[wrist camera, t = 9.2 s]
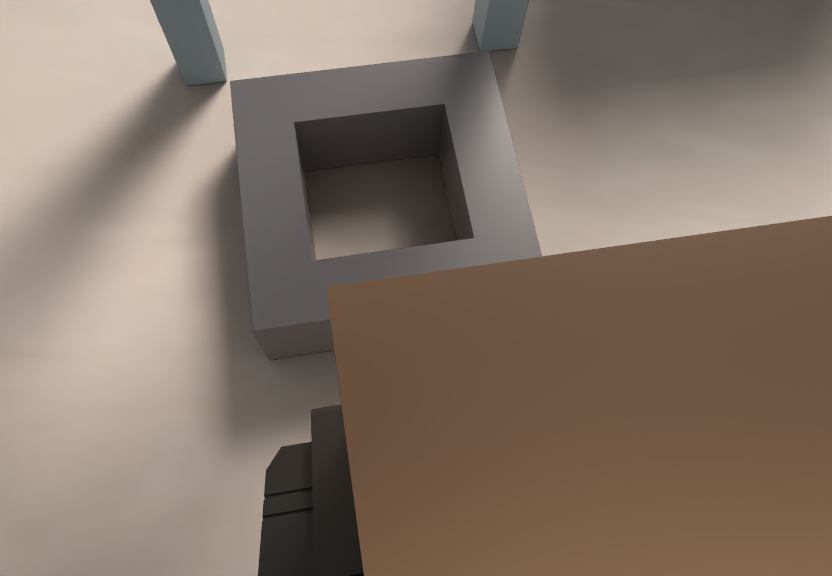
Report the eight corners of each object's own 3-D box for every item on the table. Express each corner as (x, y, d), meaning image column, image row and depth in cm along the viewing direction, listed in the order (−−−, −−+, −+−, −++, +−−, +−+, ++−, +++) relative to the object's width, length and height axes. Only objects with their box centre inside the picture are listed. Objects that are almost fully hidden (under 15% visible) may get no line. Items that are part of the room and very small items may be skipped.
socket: (530, 320, 31) (549, 286, 28) (269, 360, 30) (253, 330, 26) (478, 105, 35) (488, 51, 32) (247, 133, 34) (229, 81, 31)
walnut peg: (609, 653, 14) (1142, 853, 4) (396, 695, 14) (423, 1032, 4) (558, 439, 16) (857, 211, 6) (365, 471, 16) (326, 288, 5)
